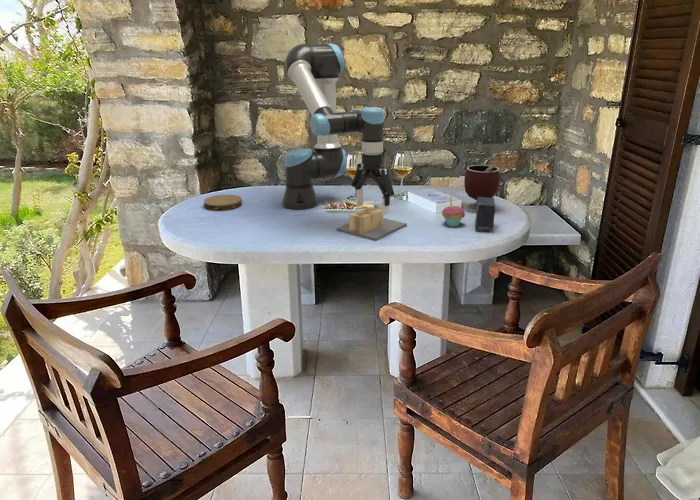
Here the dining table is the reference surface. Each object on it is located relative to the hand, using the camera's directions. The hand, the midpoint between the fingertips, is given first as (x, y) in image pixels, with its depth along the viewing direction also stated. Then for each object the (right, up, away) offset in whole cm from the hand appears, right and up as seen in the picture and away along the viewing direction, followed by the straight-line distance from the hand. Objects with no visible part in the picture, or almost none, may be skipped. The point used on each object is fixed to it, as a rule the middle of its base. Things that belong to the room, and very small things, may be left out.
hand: (372, 209), depth 192 cm
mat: (0, -7, +3) cm, 7 cm away
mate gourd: (+46, +2, +23) cm, 52 cm away
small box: (+42, -7, +2) cm, 43 cm away
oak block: (+2, -2, +3) cm, 4 cm away
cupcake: (+31, -5, +6) cm, 32 cm away
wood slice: (-63, +4, +32) cm, 71 cm away
